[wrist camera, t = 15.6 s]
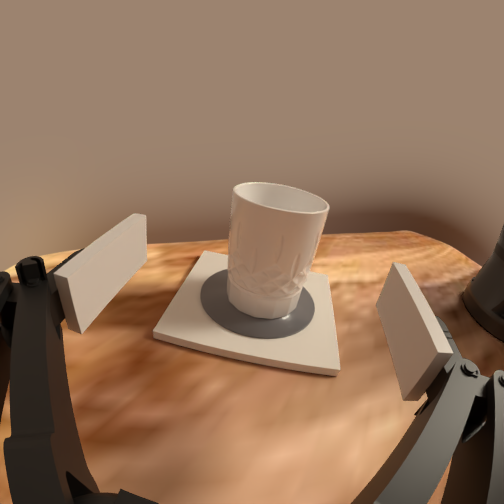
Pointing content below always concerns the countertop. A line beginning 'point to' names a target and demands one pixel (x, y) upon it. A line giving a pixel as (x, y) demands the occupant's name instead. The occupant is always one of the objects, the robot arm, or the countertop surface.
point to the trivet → (252, 323)
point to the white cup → (271, 246)
